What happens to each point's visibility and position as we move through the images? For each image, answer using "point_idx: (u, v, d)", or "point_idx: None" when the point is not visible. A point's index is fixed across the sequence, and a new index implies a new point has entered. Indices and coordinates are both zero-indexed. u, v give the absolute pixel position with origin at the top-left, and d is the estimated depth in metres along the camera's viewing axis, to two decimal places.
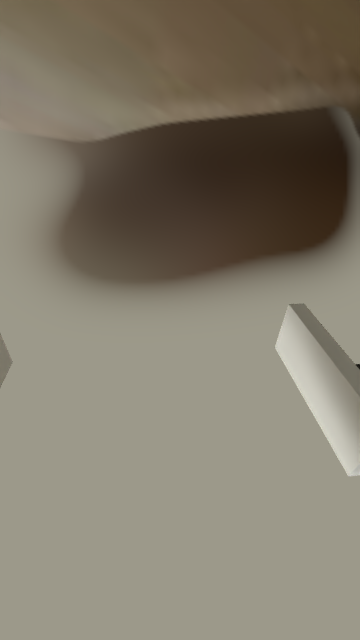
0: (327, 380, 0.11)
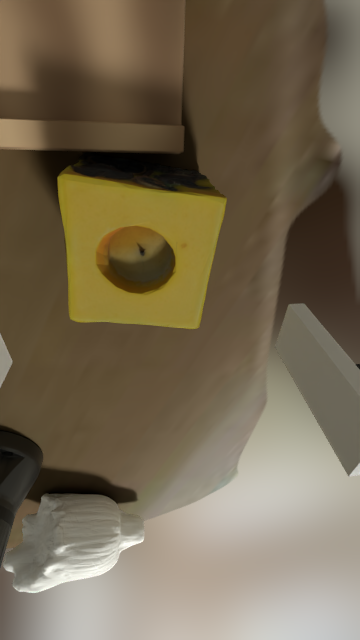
0: (327, 380, 0.11)
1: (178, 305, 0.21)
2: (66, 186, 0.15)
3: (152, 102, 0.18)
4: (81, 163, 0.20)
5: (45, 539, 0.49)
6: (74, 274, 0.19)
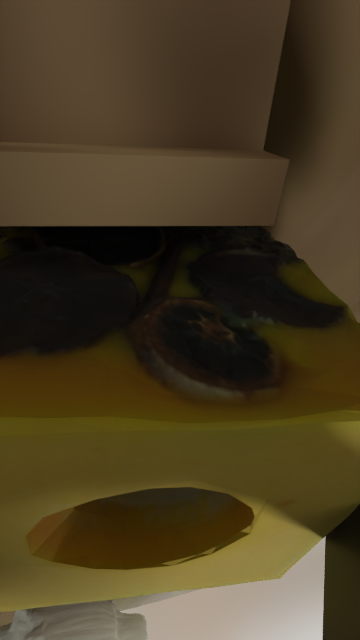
0: None
1: (244, 566, 0.09)
2: None
3: (191, 89, 0.06)
4: (2, 248, 0.08)
5: None
6: None
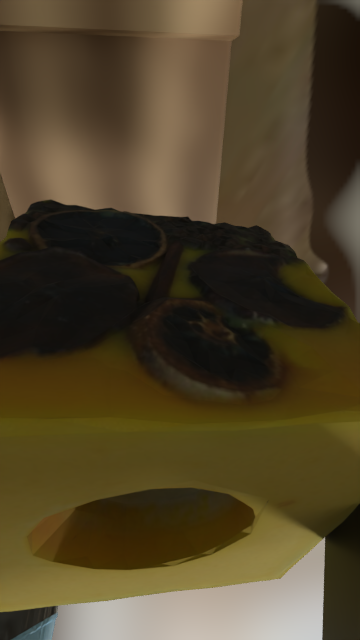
0: None
1: (245, 566, 0.09)
2: None
3: None
4: (3, 249, 0.08)
5: None
6: None
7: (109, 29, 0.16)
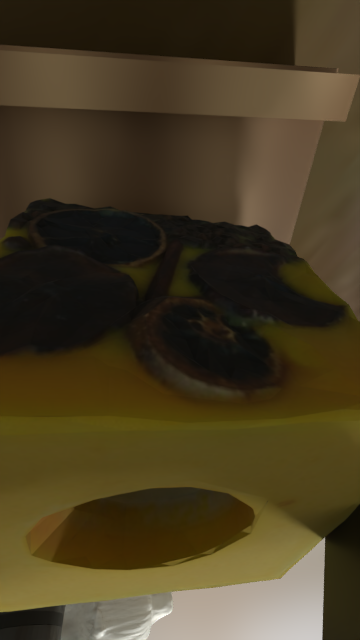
0: None
1: (245, 566, 0.09)
2: None
3: None
4: (2, 248, 0.08)
5: (85, 620, 0.52)
6: None
7: (160, 112, 0.10)
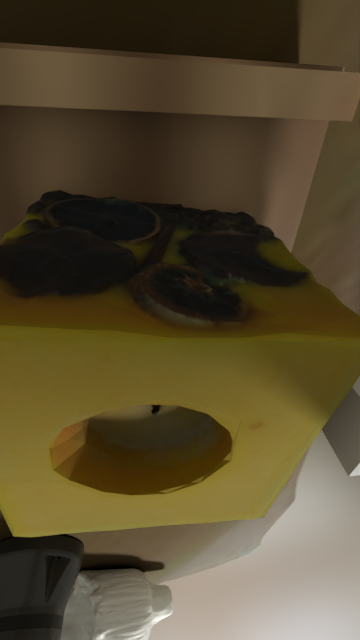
0: None
1: (230, 499, 0.11)
2: None
3: None
4: (24, 228, 0.09)
5: (84, 622, 0.52)
6: (5, 488, 0.08)
7: (161, 111, 0.10)
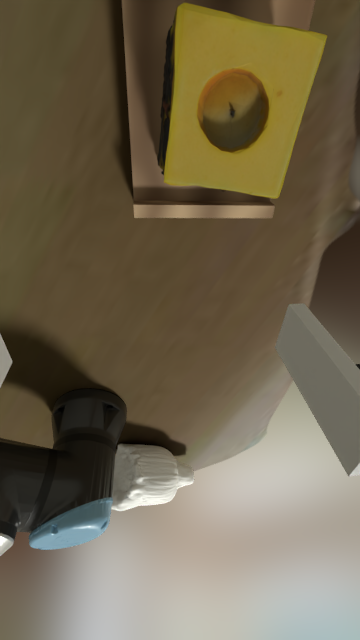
0: (327, 380, 0.11)
1: (264, 168, 0.22)
2: (184, 17, 0.17)
3: None
4: None
5: (126, 474, 0.65)
6: (175, 125, 0.20)
7: None
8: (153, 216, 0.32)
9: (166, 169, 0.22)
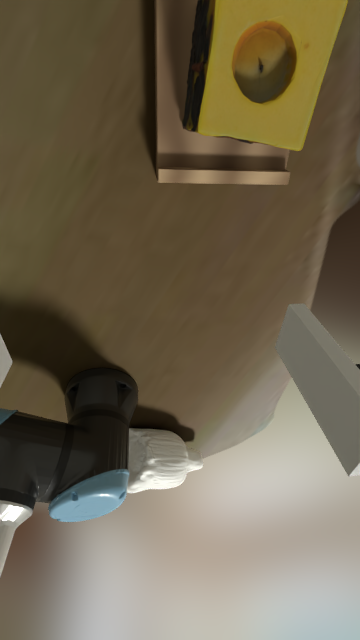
0: (327, 380, 0.11)
1: (289, 120, 0.24)
2: None
3: (272, 159, 0.35)
4: None
5: (137, 456, 0.66)
6: (212, 75, 0.22)
7: None
8: (176, 181, 0.34)
9: (200, 119, 0.23)
